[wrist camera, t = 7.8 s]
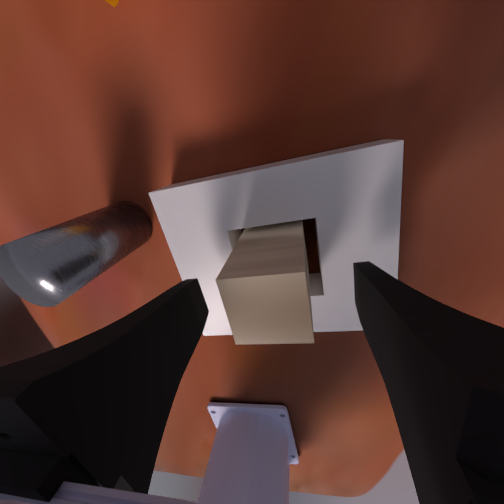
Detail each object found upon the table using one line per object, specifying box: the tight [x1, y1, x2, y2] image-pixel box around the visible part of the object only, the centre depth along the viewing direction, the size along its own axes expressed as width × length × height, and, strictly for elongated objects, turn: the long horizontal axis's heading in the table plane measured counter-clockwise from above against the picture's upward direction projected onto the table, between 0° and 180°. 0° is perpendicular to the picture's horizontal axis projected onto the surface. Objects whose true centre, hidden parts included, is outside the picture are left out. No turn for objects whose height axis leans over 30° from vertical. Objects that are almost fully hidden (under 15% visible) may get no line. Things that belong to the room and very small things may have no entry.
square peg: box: [216, 220, 314, 345], centre depth 12 cm, size 3×3×7 cm
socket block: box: [149, 139, 404, 336], centre depth 14 cm, size 10×12×2 cm
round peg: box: [0, 201, 152, 307], centre depth 13 cm, size 3×3×7 cm
